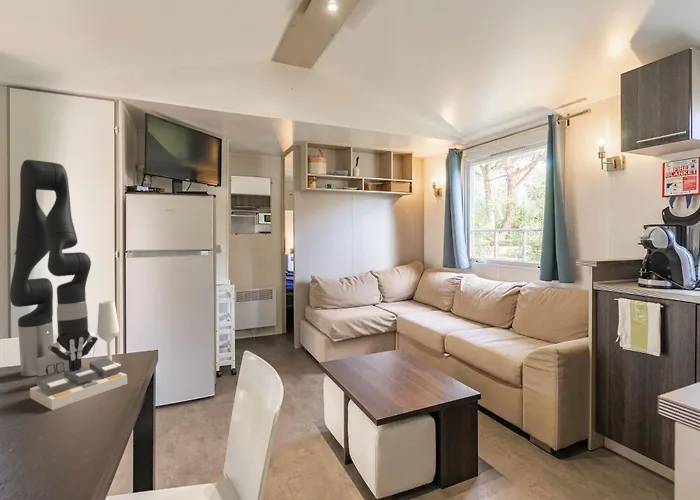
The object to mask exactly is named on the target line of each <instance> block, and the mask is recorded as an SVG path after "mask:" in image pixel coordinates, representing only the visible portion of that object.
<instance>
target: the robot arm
mask: <svg viewBox="0 0 700 500" xmlns="http://www.w3.org/2000/svg"><path fill="white" fill-rule="evenodd" d="M19 175H20V176H19V187H20V188H19V192H20V194H19V204H20V205H19V216H18V221H17V232H16V248H15V259H14V260H15V261H14V268H13V272H12V277H11V281H10V289H9V299H10V303H11V305H13V306H14V307H17V308H21V307H22V308H23V307H30V306H36V308H35V309H33V310H32V311H31V312H28V313H26V314H24V315H22V316H20V317H19V318H18V319H17V328H18V343H19V344H18V345H19V361H20V376H22V377H34V376H35V377H36V376H38V372H37V365H36V359H37V358H41V357H45V356H50V355H55V354H56V355H57V356H58V357H60V358H61V359H64V360H68V361H69V369H70V370H71V371H76V370H80V368H81V367H82V358H83V357H85V356H88V354H89V353H90V351H91V350H92V348H93V347H94V346H95V344H96V343H97V341H98V339H99V338H98V337H96V336H94V335H93V336H92V335H91V333H90V331H89V323H88V322H89V320H88V319H89V318H88V314H89V312H88V307H87V301H86V298H87V297H86V285H87V281H88V277H89V273H90V270H91V267H92V262H91V258H90V256H89V255H88V254H87V253H85V252H82V251H81V252H80V251H79V252H63V250H67V249H72V248H73V247H75V246H77V244H78V237H77V233H76V230H75V226H74V225H75V224H74V221H73V218H72V210H71V209H72V207H71V196H70V188H69V186H70V185H69V178H68V177H69V176H68V173H67V171H66V168H65V166H64V165H62V164H60V163H56V162H52V161H51V162H50V161H44V160H43V161H42V160H36V159H26V160H24V161H23V162H22V164H21V166H20V173H19ZM38 190H39V191H51V192H52V191H53V192H54V193H55V201H54V204H53V205H52V207H51V209H50V210H49V211H48V213H47V215H46V214H45V212H44V211H43V210H42V208H41V206H40V205H39V202H38V199H37V191H38ZM46 255H48V261H47V269H48V271H49V273H50V274H51V275H53V276H54V277H67V276H73V278H72V279H71V280H70V281H68V282H64V283H61V284H59V285H57V287H56V298H57V299H56V301H57V307H56V321H57V337H56V341H54V326H53V325H54V324H53V316H54V310H53V309H54V306H53V304H54V303H53V301H54V289H53V287H54V286H53V283H52V282H51V280H50V279H49V278H46V277H41V278H39V277H38V278H30V275H31V273H32V271H33V270H34V269H35V267H36V266H37V264H38V263H39V262H40V261H42V259H43V258H44V257H46ZM54 342H55V343H54ZM61 347H62V348H63V349H64V350H65V352H66V353H67V355H65V354H64V352H63V351H61Z"/></svg>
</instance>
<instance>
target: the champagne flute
mask: <svg viewBox="0 0 700 500" xmlns="http://www.w3.org/2000/svg"><path fill="white" fill-rule="evenodd" d="M97 314H98V315H97V317H98V318H97V328H96V330H97V332H96V335H97V336H98V337H99V338H100V339H101V340H103V341H104V342H106V352H107V358H108V359H109V360H111V361H112V362H114V363H115V364H117V365H118V366H120V367H121V363H117V362H115V361H113V360H112V342H111V341H113V340H114V339H115V338H116V337H117V335H118V334H119V332H120V326H119V320H118V314H117V309H116V301H114V300H106V301H100V302H99V303H98V313H97Z"/></svg>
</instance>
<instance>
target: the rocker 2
mask: <svg viewBox="0 0 700 500" xmlns="http://www.w3.org/2000/svg"><path fill="white" fill-rule="evenodd" d="M114 362H115V361H113V360H112V361H111V360H109V359H108V357H104V358H100V359H97V360H96V359H95V360H93V361H90V362H89V366H88V369H90V370H93V371H95V372H96V373H97V374H98V375H100V376H101V377H103V378H105V377H108V376H111V375H114V374H117V373H120V372H121V366H118V365H117V364H115V363H116V362H115V363H114Z"/></svg>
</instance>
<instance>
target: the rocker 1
mask: <svg viewBox="0 0 700 500" xmlns="http://www.w3.org/2000/svg"><path fill="white" fill-rule="evenodd" d="M35 385H36V386H39V387H40V388H41V389H42V390H43V391H44V392H46V393H47V394H48V395H52V394H55V393H58V392H61V391H64V390H68V389H70V382H69V381H67V380H66V379H65V378H64V377H63V376H61V375H60V374H59V373H58V372H53V373H49V374H46V375H42V376H39V377H38V376H35Z"/></svg>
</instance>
